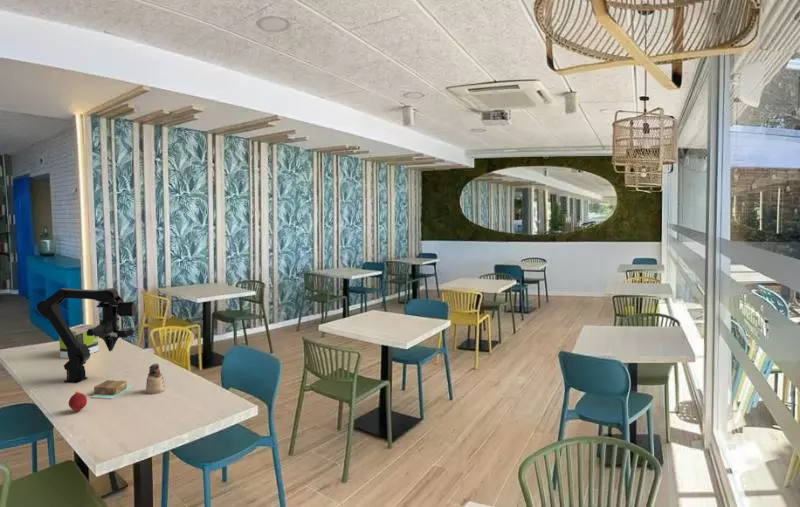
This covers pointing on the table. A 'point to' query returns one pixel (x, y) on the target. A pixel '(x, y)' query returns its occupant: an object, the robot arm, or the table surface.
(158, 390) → the figurine
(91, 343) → the tea box
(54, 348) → the table surface
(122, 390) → the mat
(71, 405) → the onion
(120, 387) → the menu stand
